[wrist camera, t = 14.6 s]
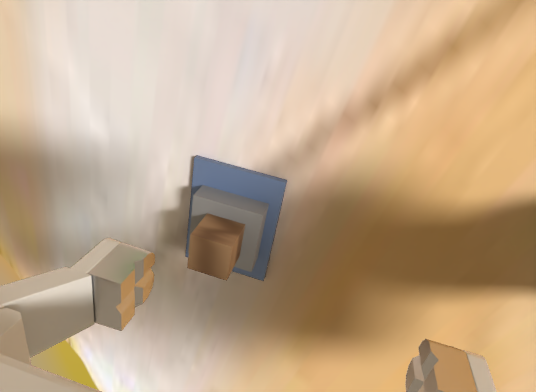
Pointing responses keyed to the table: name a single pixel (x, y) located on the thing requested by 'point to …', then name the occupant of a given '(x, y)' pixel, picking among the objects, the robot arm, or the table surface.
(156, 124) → the table surface
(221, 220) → the walnut cube
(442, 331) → the table surface
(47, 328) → the robot arm
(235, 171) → the base
